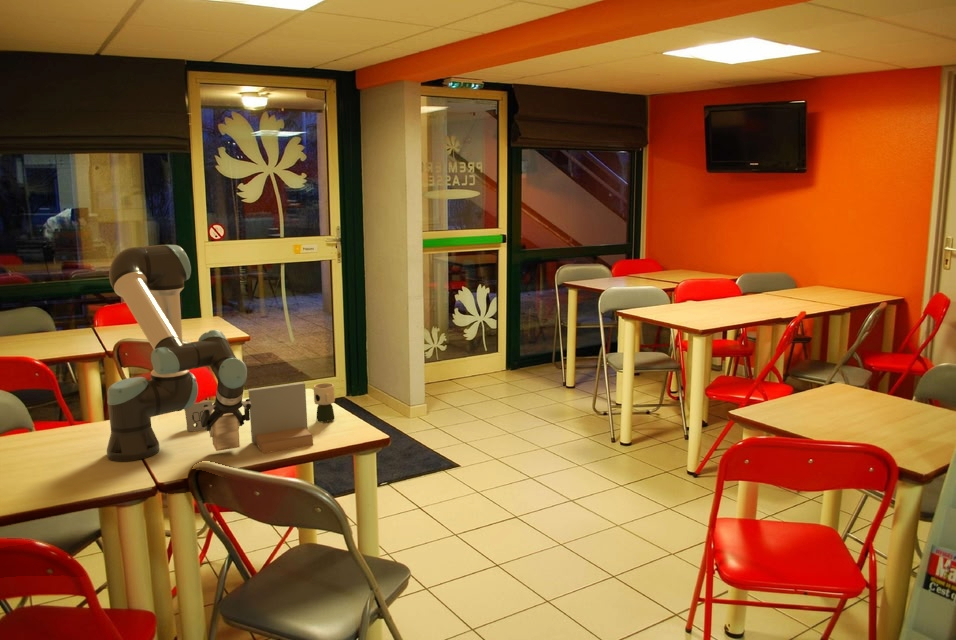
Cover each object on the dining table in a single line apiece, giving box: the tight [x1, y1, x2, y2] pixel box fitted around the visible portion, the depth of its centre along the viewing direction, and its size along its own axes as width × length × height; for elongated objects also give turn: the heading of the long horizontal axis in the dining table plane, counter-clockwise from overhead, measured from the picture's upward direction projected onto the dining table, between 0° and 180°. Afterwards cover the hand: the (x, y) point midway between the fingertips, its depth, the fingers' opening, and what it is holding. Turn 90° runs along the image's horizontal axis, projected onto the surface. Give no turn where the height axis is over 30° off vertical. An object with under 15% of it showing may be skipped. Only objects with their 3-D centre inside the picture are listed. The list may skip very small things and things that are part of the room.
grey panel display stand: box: [248, 381, 314, 454], centre depth 251 cm, size 18×12×18 cm, turn 117°
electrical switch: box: [183, 400, 214, 433], centre depth 269 cm, size 9×5×9 cm, turn 121°
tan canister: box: [211, 410, 241, 452], centre depth 243 cm, size 7×7×12 cm
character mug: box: [313, 382, 336, 423], centre depth 275 cm, size 11×7×13 cm, turn 25°
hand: (223, 431), depth 247 cm, fingers closed on tan canister, 7 cm apart
